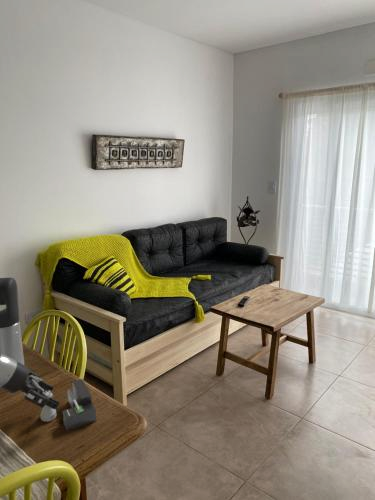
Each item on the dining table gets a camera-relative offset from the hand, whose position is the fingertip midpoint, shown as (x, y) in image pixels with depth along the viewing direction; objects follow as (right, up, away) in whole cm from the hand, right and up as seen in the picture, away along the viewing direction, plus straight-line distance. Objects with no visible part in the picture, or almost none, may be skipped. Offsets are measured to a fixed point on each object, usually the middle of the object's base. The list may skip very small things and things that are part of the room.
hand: (54, 397), depth 112 cm
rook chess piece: (-2, -6, 0) cm, 6 cm away
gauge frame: (+5, -5, +2) cm, 8 cm away
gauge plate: (+5, -4, +2) cm, 7 cm away
